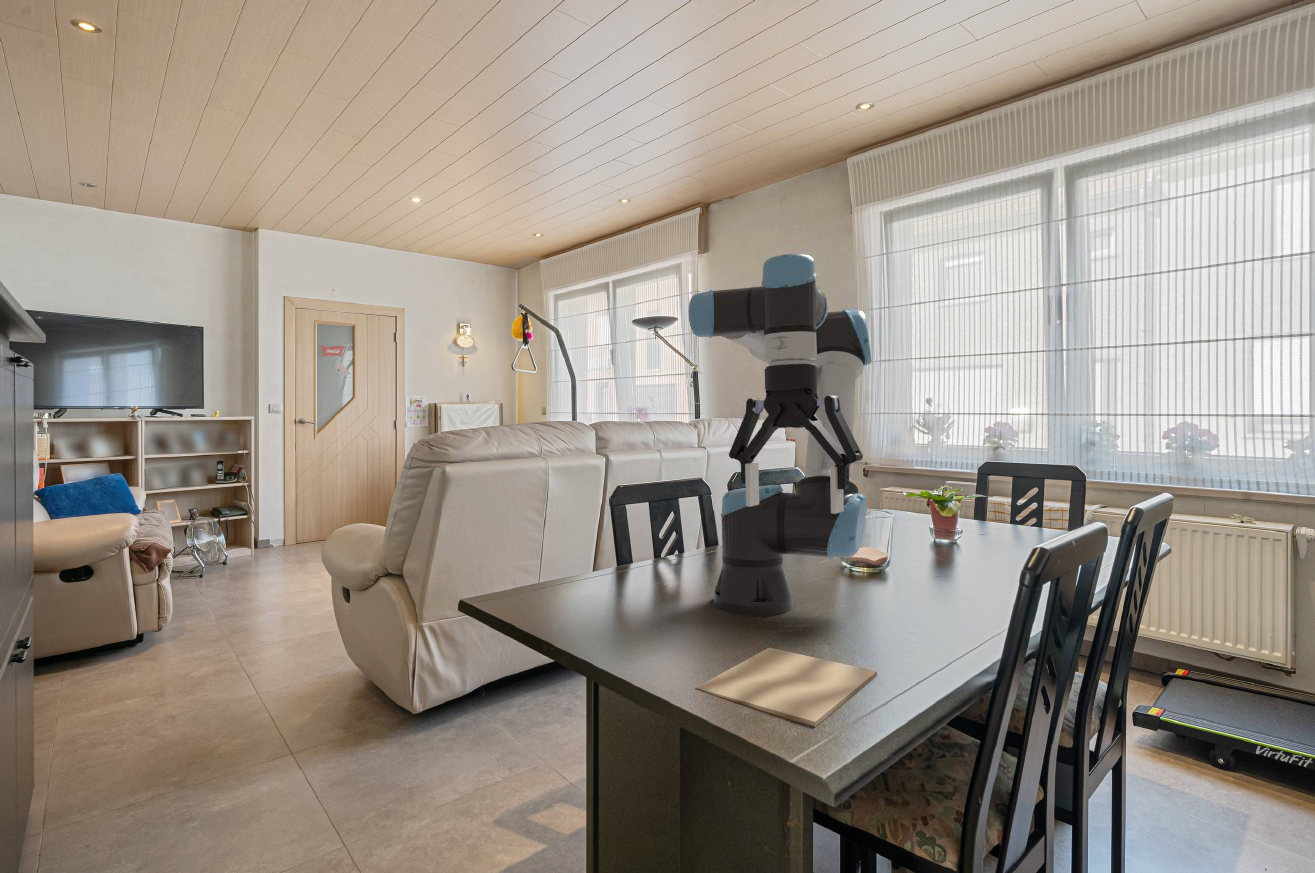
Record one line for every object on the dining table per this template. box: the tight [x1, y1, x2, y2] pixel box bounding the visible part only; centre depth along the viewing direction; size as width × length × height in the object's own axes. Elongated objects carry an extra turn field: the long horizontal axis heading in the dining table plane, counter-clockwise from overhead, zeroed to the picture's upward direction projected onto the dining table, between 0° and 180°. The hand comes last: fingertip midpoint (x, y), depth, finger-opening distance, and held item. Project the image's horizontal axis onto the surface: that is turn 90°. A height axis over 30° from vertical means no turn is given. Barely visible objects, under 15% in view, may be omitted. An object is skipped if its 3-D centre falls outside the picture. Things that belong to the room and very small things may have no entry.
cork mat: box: [695, 647, 878, 728], centre depth 89 cm, size 17×20×1 cm
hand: (793, 508), depth 96 cm, fingers open, 13 cm apart
